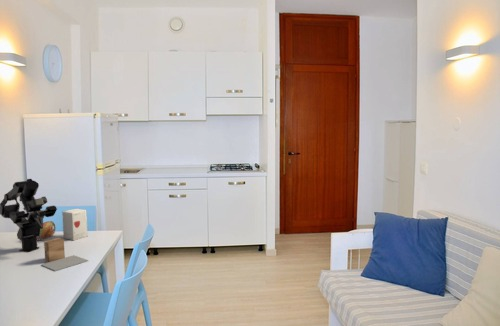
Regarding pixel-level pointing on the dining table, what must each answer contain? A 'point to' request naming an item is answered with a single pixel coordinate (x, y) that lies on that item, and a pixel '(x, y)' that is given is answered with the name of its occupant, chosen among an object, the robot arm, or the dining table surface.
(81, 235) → the supplement box
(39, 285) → the dining table surface
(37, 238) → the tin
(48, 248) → the walnut block
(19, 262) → the dining table surface
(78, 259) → the mat
